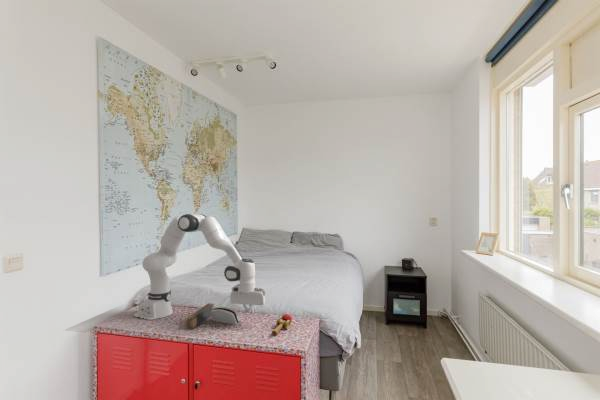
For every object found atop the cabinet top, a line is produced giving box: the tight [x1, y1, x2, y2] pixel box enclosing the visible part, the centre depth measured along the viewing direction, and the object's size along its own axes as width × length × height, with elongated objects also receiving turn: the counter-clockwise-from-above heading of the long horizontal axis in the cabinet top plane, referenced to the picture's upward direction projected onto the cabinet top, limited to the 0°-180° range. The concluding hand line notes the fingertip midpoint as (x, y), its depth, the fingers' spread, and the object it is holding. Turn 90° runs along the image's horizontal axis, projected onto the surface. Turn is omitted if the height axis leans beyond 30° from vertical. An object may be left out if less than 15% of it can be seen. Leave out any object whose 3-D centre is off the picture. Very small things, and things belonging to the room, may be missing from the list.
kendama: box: [271, 313, 293, 337], centre depth 165 cm, size 8×6×18 cm
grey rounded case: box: [211, 306, 241, 326], centre depth 174 cm, size 17×5×10 cm, turn 70°
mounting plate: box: [196, 303, 213, 328], centre depth 176 cm, size 1×16×7 cm, turn 169°
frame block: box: [185, 303, 215, 330], centre depth 176 cm, size 4×24×6 cm, turn 168°
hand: (247, 311), depth 172 cm, fingers closed
